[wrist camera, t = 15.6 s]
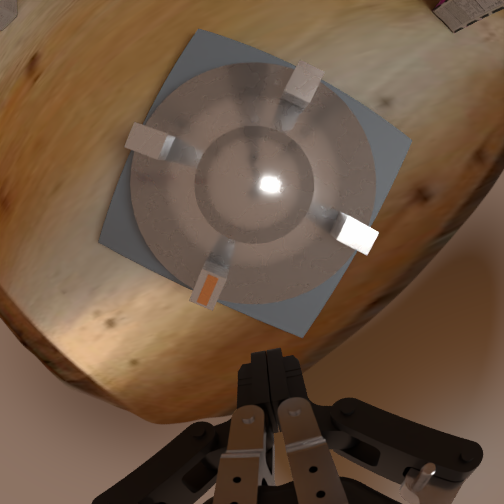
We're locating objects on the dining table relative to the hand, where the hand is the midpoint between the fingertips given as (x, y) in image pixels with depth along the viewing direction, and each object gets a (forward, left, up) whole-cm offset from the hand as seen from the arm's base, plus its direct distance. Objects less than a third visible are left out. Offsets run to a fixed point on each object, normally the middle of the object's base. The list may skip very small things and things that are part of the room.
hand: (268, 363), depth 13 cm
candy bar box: (+9, +48, -18) cm, 52 cm away
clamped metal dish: (-4, +7, -16) cm, 18 cm away
